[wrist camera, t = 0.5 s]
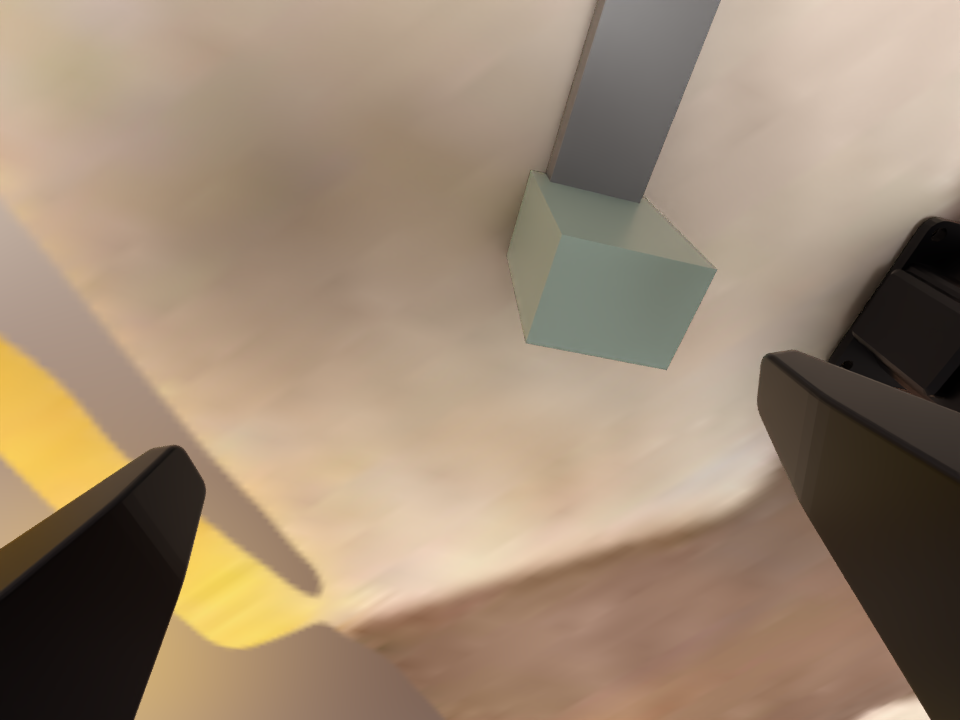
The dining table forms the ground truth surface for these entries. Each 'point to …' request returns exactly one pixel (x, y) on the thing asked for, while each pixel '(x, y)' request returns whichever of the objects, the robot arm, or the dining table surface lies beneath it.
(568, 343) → the grey piece
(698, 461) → the dining table surface
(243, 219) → the dining table surface
